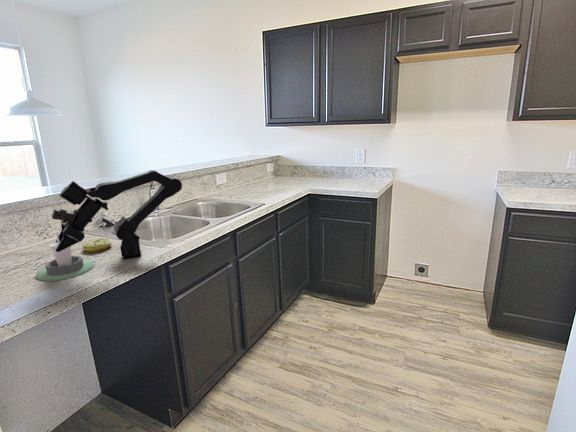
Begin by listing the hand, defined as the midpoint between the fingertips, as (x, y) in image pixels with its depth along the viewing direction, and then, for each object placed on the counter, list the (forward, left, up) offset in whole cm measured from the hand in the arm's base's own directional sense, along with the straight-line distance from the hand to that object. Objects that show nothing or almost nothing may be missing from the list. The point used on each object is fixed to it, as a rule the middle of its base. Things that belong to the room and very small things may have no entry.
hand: (56, 247), depth 119 cm
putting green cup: (-1, 0, -9) cm, 9 cm away
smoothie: (-1, 0, -9) cm, 9 cm away
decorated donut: (-9, -21, -9) cm, 25 cm away
